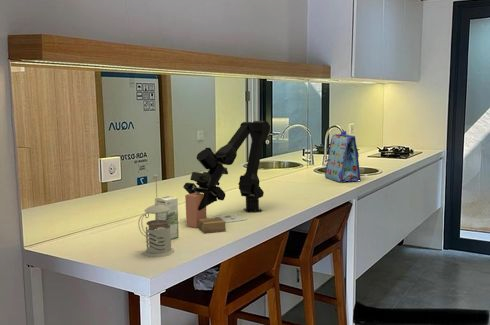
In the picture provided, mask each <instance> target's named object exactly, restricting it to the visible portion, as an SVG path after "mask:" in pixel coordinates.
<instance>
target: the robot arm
mask: <svg viewBox="0 0 490 325" xmlns="http://www.w3.org/2000/svg"><path fill="white" fill-rule="evenodd" d="M270 131H271V125H270V123H269V121H268V120H254V121H252V122H251V121H243V122H241V123H240V125H239V127H238V129H237V130H236V132H235V133H234V134H233V135H232V137H230V140H229V141H228V142H227V143H226V144H225V145H223V146H221V147H220V148H219V149H218V150H217V151H216V152H215V153H214V151H213V150H212V148H211V147H205V149H202V150H201V151H200V152H198V153H197V155H196V160H197V161H198V162H199V163H200V164H201V166H202V167H203V168H204V169H205V170H207V171H203V172H197V171H192V172H191V176H190V178H189V179H190V181H193V182H184V184H183V186H182V187H183V189H184V190H185V191H186V192H187V193H188V194H192V193H201V194H204V197H203V199H202V201H201V203H200V205H199V207H198V210H199V211H200V210H202V209H203V208H205V207H206V208H207V206H209V205H211V204H213V203H215V202H218V201H224V200H225V198H226V192H225V191H224V190H223V189H222V188H221V187H220V185H221V184H220V182H219V181H220V180H221V178H222V177H223V175H228V174H229V171H228V167H225V166H232V165H233V164H234V162H235V160H236V158H237V156H238V154H237V152H238V150H239V149H240V147H241V146H242V145H243V143H245V141H246V139H247V138H248V136H250V138H251V143H250V149H249V155H248V160H247V164H246V170H245V173H244V174H243V175H240V176H239V180H238V181H239V182H238V190H239V192H240V196H241V197H245V207H244V208H243V211H244V212H246V213H256V212H262V211H263V209H261V208H260V199H261V198H263V197H264V190H263V189H262V188H261V187H260V178H259V176H258V172H259V167H260V161H261V157H262V151H263V147H264V146H263V145H264V142H265V140H266V139H267V138H268V137H269V133H270ZM224 165H225V166H224ZM194 182H196V183H194Z"/></svg>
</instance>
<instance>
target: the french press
mask: <svg viewBox="0 0 490 325" xmlns="http://www.w3.org/2000/svg"><path fill="white" fill-rule="evenodd" d="M152 178H153V179H155V180H157V179H159V178H160V176H159V175H158V174H153V175H152ZM157 188H158V186H157V181H155V195H156V198H158V189H157ZM169 211H170V208H168V207H167V206H164V205H159V204H156V205H155V204H152V205H150V206H148V207H146V208H145V209H144V213H143V214H142V215H141V216H140V217H139V219H138V225H140V220H141V228H140V226H138V230H139V232H140V233H141V234H142V235H143V236H144V237H145V239H146V240H145V241H146V250H144V252H143V255H145V256H147V257H151V258H153V257H154V258H157V257H158V258H159V257H166V256H171V255H172V254H174V253H175V252H176V251H175V250H174V248H173V247H172V239H171V231H170V225H167V224H169V221H167V220H160V219H159V220H155V219H153V220H149V221H147V222H146V225H147V226H145V229H144V226H143V219H144V217H145V218H146V219H149V217H150V215H151V214H153V215H155V214H157V219H158V214H161V213H167V212H169ZM160 227H163V228H166V229H160V230H156V229H157V228H160ZM141 229H142V230H143V232H144V233H145V234H144V233H143V232H142V230H141ZM163 236H164V237H163ZM156 237H159V238H156Z"/></svg>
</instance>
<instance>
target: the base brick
mask: <svg viewBox="0 0 490 325" xmlns="http://www.w3.org/2000/svg"><path fill="white" fill-rule="evenodd" d="M198 228H199V230H200V231H202V232H201V233H203V234H211V233H220V232H221V233H222V232H227V230H226V222H225V221H224V220H222V219H221V218H220V217H217V218H215V217H207V219H199V227H198Z"/></svg>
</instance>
